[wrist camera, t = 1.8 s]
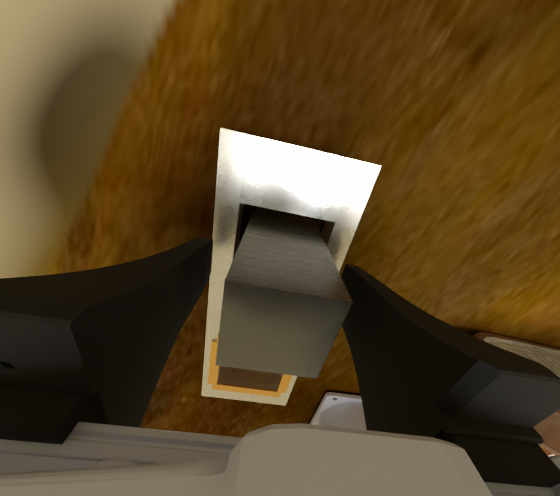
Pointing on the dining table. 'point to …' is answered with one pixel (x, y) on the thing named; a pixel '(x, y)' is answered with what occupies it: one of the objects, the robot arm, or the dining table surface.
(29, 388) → the robot arm
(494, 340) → the tin
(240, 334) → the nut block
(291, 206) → the white rectangular board
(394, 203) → the dining table surface
